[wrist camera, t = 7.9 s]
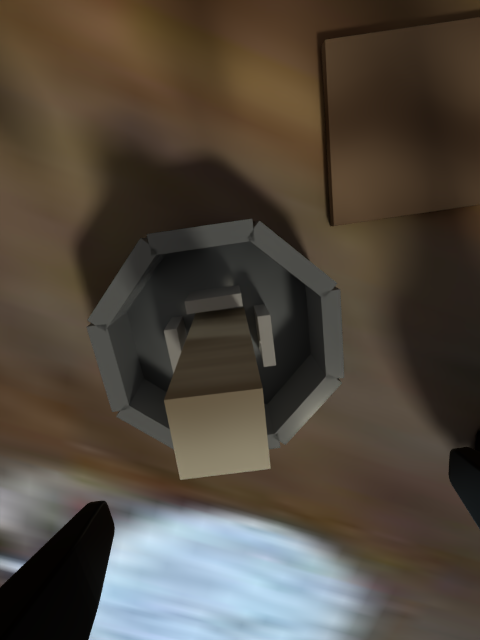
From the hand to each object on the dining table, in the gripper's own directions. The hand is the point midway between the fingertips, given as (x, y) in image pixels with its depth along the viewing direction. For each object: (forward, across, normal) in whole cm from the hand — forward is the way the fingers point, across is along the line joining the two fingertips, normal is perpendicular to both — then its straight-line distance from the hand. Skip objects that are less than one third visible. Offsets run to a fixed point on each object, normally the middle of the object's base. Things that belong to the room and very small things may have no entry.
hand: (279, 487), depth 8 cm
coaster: (+13, -10, -10) cm, 19 cm away
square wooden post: (+12, +2, 0) cm, 12 cm away
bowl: (+13, +2, 0) cm, 13 cm away
